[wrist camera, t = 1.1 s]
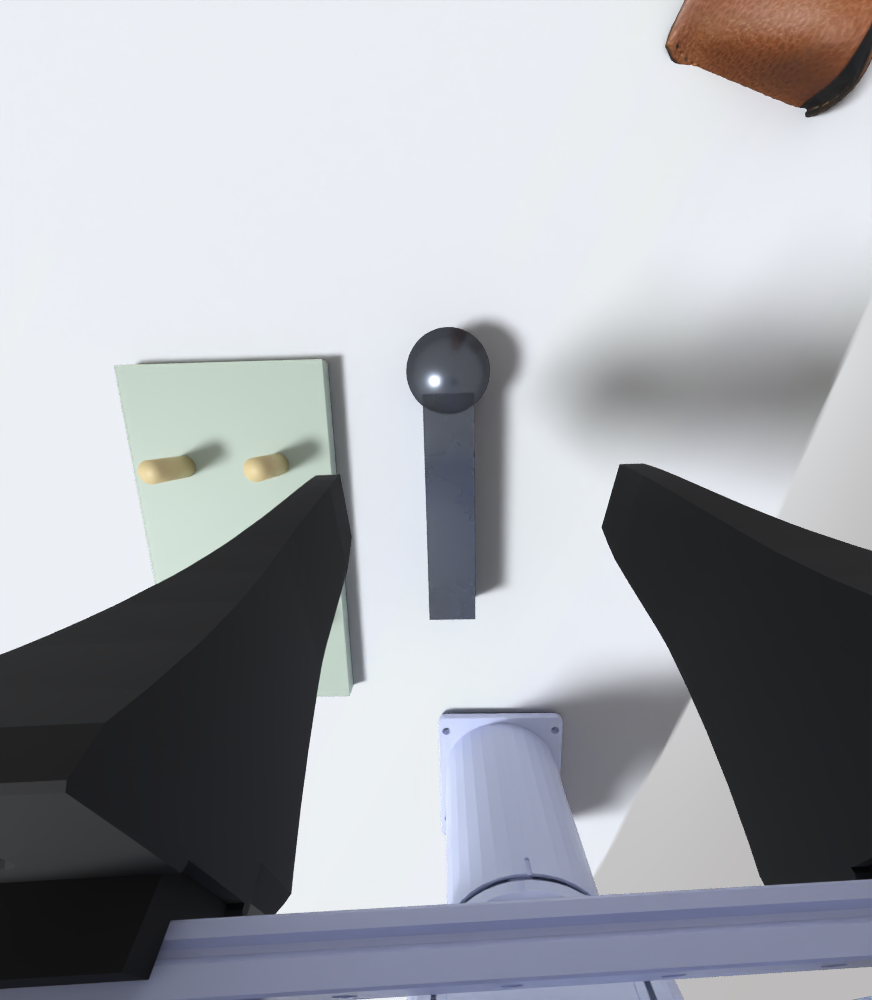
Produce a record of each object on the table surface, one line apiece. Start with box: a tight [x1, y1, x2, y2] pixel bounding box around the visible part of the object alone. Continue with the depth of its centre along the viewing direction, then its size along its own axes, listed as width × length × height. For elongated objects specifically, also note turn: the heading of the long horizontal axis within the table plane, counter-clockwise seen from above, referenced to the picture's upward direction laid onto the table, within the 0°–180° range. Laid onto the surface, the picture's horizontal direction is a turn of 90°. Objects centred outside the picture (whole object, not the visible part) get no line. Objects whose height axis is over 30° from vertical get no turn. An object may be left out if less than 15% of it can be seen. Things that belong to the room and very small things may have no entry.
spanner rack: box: [114, 359, 353, 697], centre depth 21 cm, size 20×11×4 cm, turn 1°
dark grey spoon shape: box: [406, 327, 490, 620], centre depth 20 cm, size 15×4×3 cm, turn 1°
